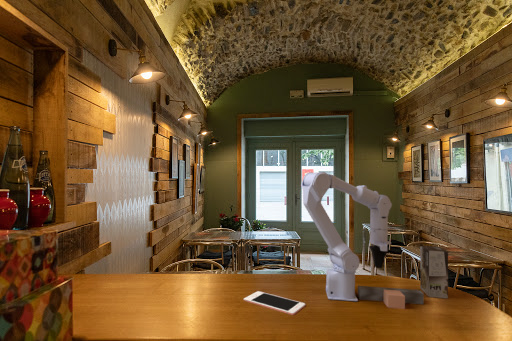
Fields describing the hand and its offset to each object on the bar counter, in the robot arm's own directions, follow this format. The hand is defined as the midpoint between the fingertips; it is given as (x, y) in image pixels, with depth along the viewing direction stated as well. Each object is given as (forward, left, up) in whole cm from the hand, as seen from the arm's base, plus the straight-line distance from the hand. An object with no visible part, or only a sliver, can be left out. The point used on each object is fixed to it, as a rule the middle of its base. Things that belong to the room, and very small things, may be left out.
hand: (378, 267), depth 106 cm
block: (+2, -9, -10) cm, 13 cm away
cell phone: (-36, -15, -10) cm, 40 cm away
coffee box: (+20, +5, -10) cm, 23 cm away
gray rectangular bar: (+2, -5, -9) cm, 11 cm away
